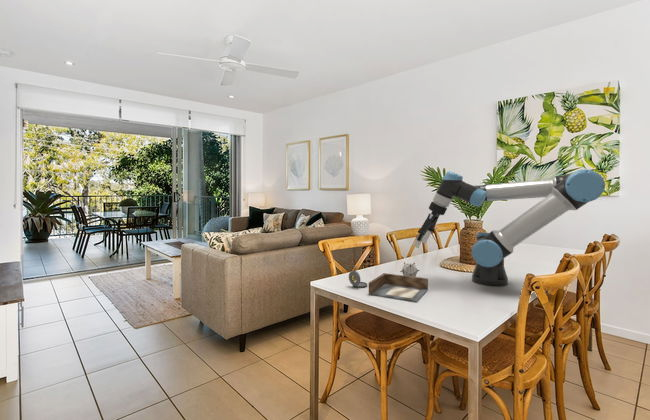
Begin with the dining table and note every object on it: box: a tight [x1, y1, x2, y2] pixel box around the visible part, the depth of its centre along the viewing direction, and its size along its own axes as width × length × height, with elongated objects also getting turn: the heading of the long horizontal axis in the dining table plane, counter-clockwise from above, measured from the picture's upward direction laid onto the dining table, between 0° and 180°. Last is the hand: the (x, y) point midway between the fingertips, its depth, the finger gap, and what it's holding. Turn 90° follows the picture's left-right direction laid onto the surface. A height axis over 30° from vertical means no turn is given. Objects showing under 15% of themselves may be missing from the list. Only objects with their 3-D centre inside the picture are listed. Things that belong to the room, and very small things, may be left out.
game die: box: [399, 262, 420, 277], centre depth 163 cm, size 9×8×10 cm
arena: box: [368, 272, 429, 303], centre depth 142 cm, size 20×18×5 cm
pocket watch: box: [348, 265, 368, 288], centre depth 152 cm, size 8×8×10 cm
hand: (419, 244), depth 160 cm, fingers open, 13 cm apart
